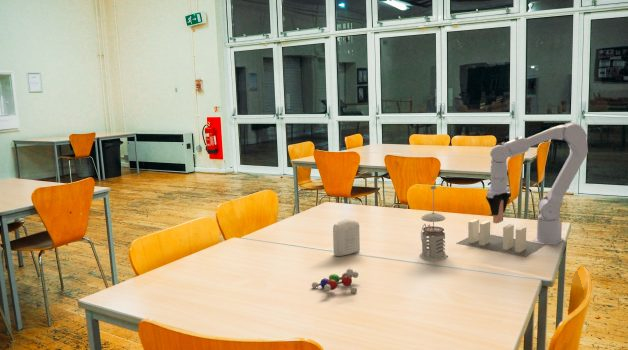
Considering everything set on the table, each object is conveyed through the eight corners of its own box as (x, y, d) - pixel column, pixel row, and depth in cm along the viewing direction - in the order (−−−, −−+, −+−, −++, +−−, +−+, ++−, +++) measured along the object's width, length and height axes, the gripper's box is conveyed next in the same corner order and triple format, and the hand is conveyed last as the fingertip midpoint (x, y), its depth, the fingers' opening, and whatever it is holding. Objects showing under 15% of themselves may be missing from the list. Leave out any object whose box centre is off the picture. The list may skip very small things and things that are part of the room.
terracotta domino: (499, 220, 194) (499, 199, 193) (503, 220, 193) (503, 200, 192) (493, 222, 190) (493, 202, 189) (497, 223, 189) (497, 202, 188)
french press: (453, 255, 177) (453, 184, 173) (436, 264, 169) (436, 190, 165) (428, 250, 184) (428, 181, 180) (410, 258, 176) (410, 187, 172)
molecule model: (306, 302, 149) (345, 300, 142) (300, 278, 149) (339, 275, 142) (332, 287, 162) (370, 284, 154) (327, 264, 162) (364, 261, 154)
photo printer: (354, 249, 189) (353, 216, 187) (361, 251, 185) (360, 218, 183) (331, 254, 183) (330, 221, 181) (338, 257, 179) (337, 223, 177)
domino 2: (485, 241, 189) (486, 220, 188) (489, 242, 188) (490, 221, 187) (479, 244, 186) (479, 223, 184) (483, 245, 185) (483, 224, 183)
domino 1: (474, 239, 192) (474, 218, 191) (478, 240, 191) (478, 219, 190) (468, 242, 189) (468, 221, 187) (472, 243, 188) (472, 222, 186)
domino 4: (521, 248, 180) (521, 226, 179) (525, 248, 179) (526, 226, 178) (515, 251, 177) (515, 229, 175) (519, 252, 175) (520, 230, 174)
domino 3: (508, 245, 183) (509, 224, 182) (513, 246, 182) (513, 224, 181) (502, 249, 180) (503, 227, 178) (507, 250, 178) (507, 228, 177)
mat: (478, 233, 201) (478, 232, 201) (546, 245, 183) (546, 244, 183) (455, 244, 189) (455, 243, 189) (526, 258, 171) (526, 257, 170)
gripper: (497, 174, 197) (496, 208, 199) (479, 179, 187) (479, 215, 189) (515, 175, 192) (514, 210, 194) (497, 181, 182) (497, 218, 184)
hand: (498, 213), depth 191 cm, fingers closed on terracotta domino, 5 cm apart
